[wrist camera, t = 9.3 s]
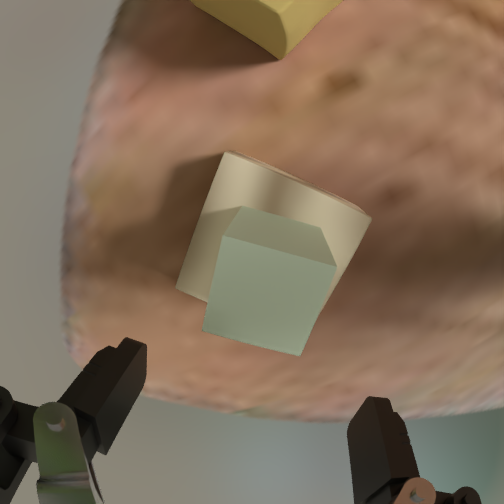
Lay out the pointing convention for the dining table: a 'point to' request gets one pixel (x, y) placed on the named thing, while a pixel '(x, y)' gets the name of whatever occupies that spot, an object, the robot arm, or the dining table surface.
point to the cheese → (270, 19)
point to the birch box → (272, 201)
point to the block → (269, 281)
